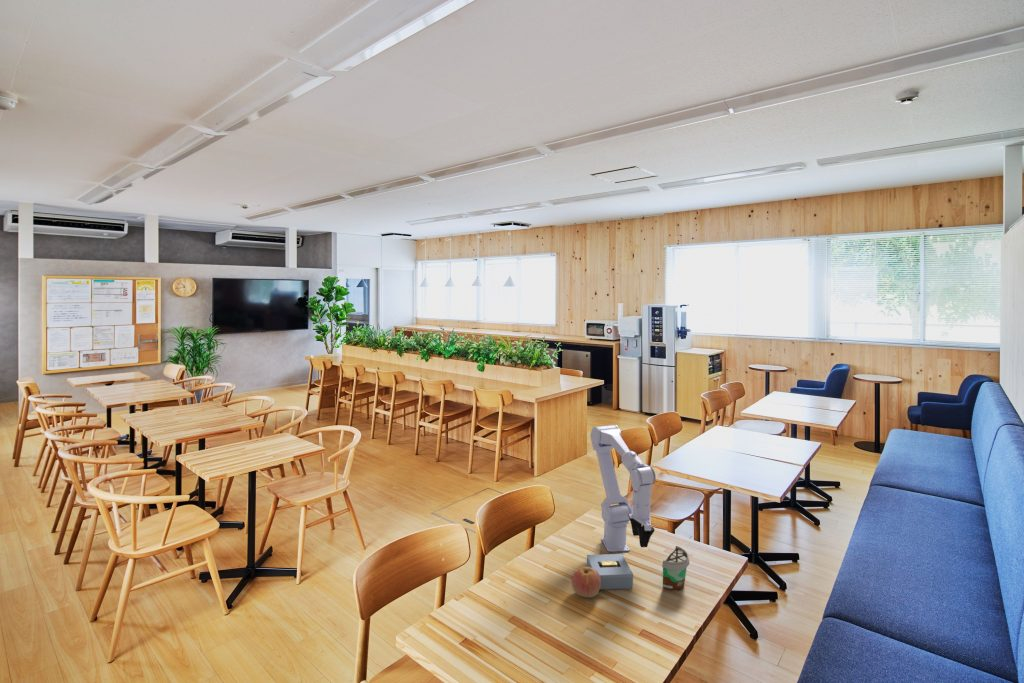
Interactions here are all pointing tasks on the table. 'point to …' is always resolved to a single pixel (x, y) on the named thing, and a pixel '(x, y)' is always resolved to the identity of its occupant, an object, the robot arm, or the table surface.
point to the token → (609, 564)
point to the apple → (586, 582)
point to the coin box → (612, 571)
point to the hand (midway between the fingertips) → (639, 540)
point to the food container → (675, 570)
